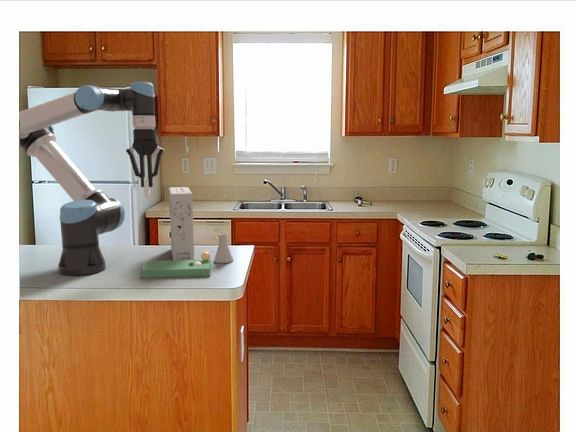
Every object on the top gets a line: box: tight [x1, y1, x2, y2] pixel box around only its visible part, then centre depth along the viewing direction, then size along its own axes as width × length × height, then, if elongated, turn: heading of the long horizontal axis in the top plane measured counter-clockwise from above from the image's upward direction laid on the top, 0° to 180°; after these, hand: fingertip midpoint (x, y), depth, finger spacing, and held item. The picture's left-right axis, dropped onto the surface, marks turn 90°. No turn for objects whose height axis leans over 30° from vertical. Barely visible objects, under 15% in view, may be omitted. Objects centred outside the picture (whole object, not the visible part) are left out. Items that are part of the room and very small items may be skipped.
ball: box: [193, 262, 202, 266], centre depth 179 cm, size 3×3×3 cm
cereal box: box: [168, 186, 195, 261], centre depth 201 cm, size 22×8×25 cm, turn 14°
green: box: [141, 259, 213, 279], centre depth 178 cm, size 22×12×2 cm, turn 96°
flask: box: [213, 233, 234, 264], centre depth 192 cm, size 7×7×10 cm
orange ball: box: [200, 251, 212, 261], centre depth 183 cm, size 3×3×3 cm
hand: (147, 196), depth 185 cm, fingers closed
